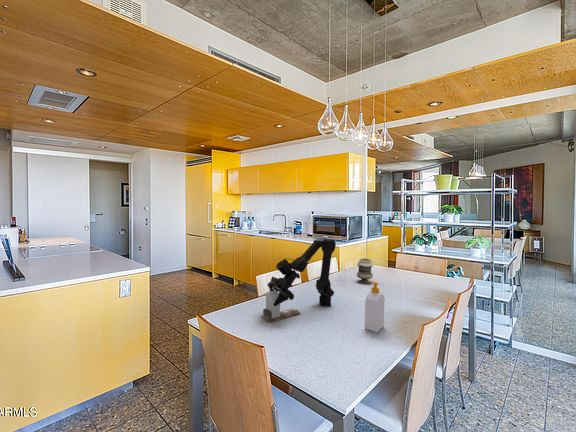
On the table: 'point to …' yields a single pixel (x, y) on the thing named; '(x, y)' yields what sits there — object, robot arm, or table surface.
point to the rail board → (283, 314)
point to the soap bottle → (374, 309)
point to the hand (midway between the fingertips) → (270, 303)
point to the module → (272, 303)
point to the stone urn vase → (364, 270)
